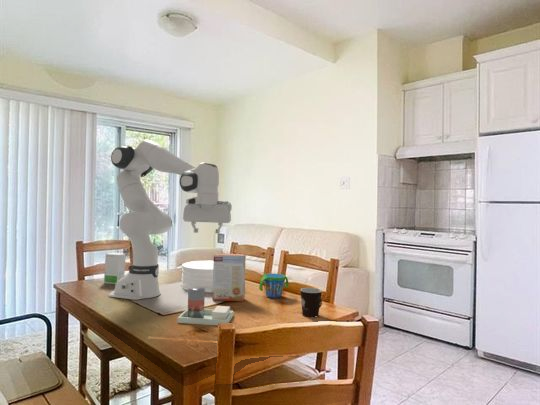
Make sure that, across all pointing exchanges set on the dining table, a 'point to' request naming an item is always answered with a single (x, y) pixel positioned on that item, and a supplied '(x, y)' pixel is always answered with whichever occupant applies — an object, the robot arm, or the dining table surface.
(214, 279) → the cracker box
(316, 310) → the coffee mug
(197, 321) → the pale green tray
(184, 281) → the plate stack
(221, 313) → the white rectangular block
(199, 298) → the tin
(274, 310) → the dining table surface
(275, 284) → the snack cup
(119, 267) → the skincare box
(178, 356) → the dining table surface
